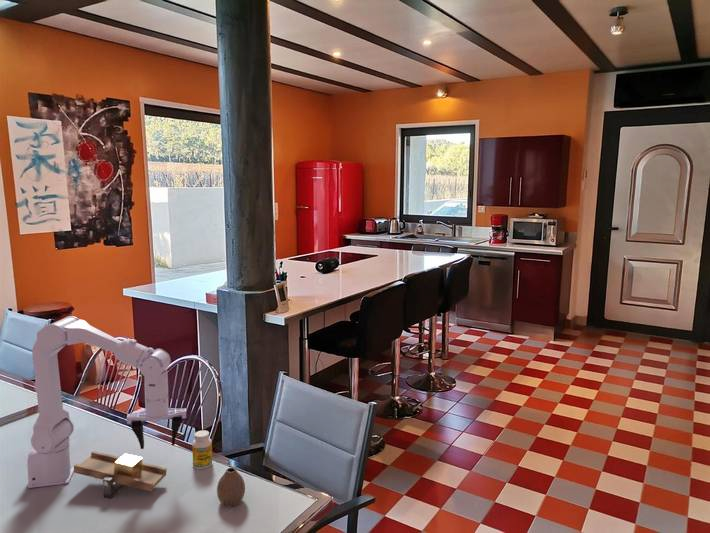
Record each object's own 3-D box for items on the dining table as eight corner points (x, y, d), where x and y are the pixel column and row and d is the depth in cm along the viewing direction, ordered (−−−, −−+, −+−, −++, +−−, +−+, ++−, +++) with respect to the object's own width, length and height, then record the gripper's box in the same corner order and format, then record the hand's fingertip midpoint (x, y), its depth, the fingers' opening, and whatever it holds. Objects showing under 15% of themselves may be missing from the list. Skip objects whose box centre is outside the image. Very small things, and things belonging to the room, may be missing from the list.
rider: (113, 474, 132) (114, 462, 132) (124, 465, 137) (125, 453, 136) (131, 478, 132) (132, 466, 131) (141, 469, 136) (142, 457, 136)
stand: (102, 499, 129) (101, 480, 129) (130, 473, 142) (129, 456, 141) (109, 500, 129) (108, 481, 128) (137, 473, 141) (136, 456, 141)
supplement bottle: (208, 458, 151) (208, 427, 149) (214, 466, 146) (214, 434, 145) (190, 463, 148) (189, 431, 146) (195, 471, 143) (195, 439, 142)
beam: (73, 472, 132) (74, 465, 132) (92, 457, 140) (93, 450, 140) (150, 491, 130) (151, 484, 129) (166, 475, 137) (166, 468, 137)
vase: (250, 497, 132) (250, 465, 131) (235, 513, 126) (235, 479, 124) (227, 491, 134) (226, 460, 133) (211, 506, 128) (211, 474, 127)
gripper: (124, 405, 128) (126, 456, 130) (185, 400, 133) (186, 449, 135) (127, 395, 135) (129, 443, 137) (185, 389, 140) (186, 436, 142)
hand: (158, 445), depth 136 cm, fingers open, 7 cm apart
